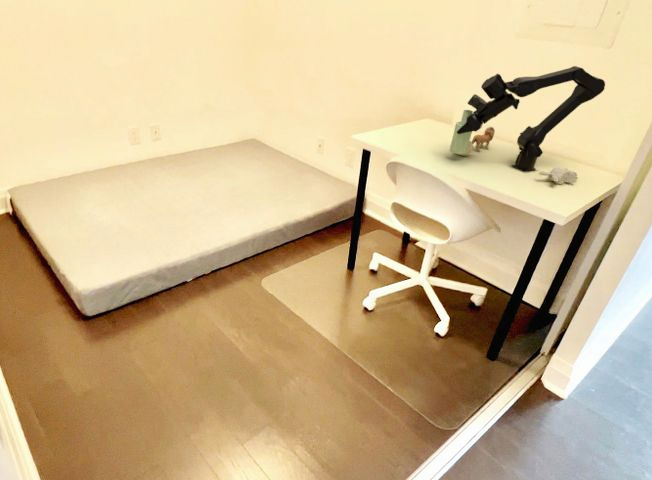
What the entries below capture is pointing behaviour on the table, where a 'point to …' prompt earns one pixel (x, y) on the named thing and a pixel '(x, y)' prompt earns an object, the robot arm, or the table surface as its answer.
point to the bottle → (461, 136)
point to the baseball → (468, 149)
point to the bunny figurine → (561, 175)
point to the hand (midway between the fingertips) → (459, 130)
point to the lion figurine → (484, 138)
